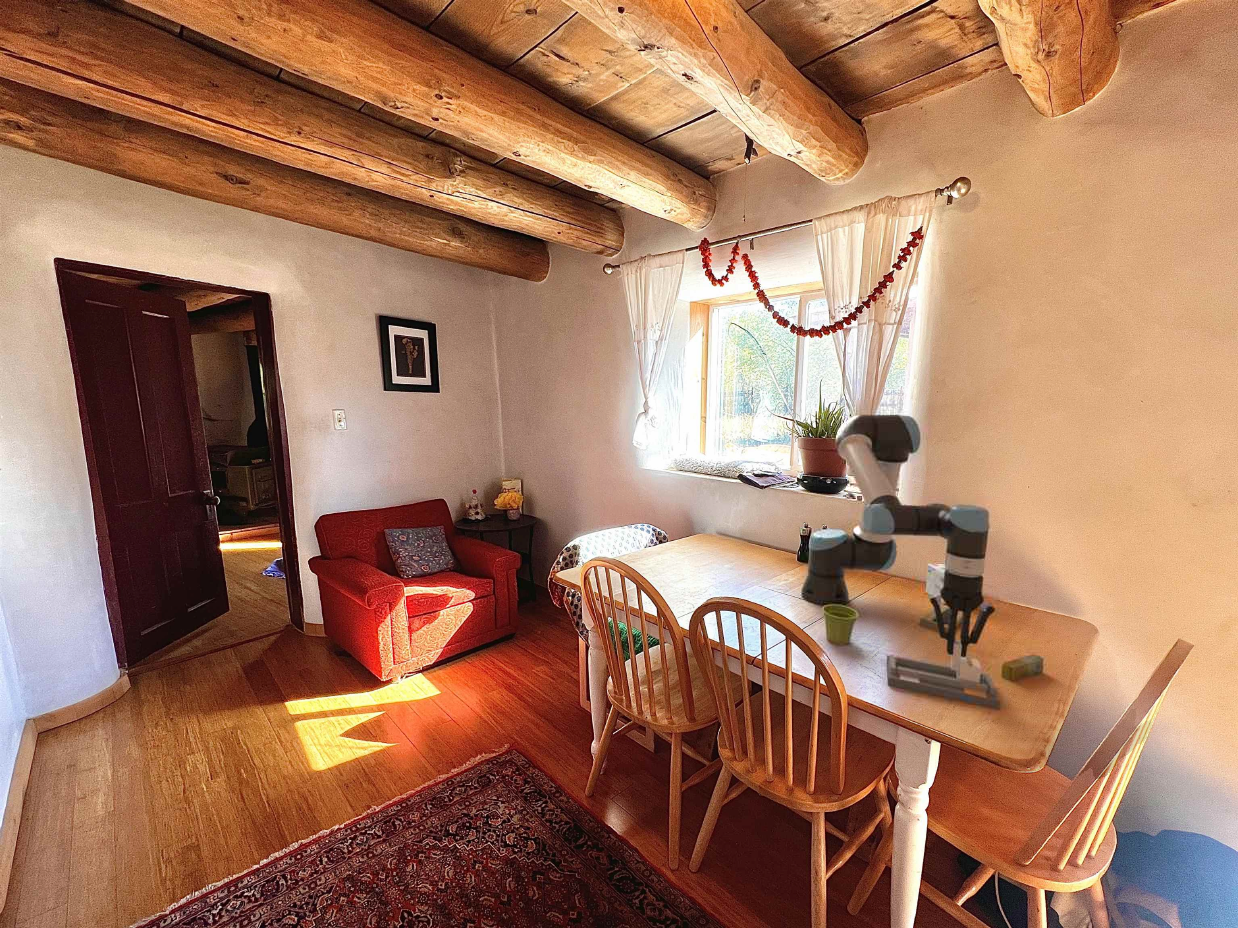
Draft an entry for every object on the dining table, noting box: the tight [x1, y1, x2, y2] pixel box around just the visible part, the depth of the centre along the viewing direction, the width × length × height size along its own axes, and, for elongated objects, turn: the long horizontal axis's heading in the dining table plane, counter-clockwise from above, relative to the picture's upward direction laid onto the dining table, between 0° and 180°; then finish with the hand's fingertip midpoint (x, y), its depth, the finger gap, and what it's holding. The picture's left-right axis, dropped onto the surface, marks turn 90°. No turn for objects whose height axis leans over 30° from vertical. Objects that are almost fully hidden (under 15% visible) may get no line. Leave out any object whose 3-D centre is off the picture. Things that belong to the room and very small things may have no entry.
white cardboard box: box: [956, 656, 982, 683], centre depth 121 cm, size 4×4×5 cm
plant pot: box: [822, 605, 859, 646], centre depth 146 cm, size 9×9×9 cm
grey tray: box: [885, 654, 1001, 711], centre depth 124 cm, size 22×12×4 cm, turn 64°
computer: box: [918, 604, 962, 633], centre depth 158 cm, size 16×8×3 cm, turn 131°
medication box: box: [1001, 654, 1044, 683], centre depth 128 cm, size 12×3×4 cm, turn 111°
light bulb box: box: [925, 563, 947, 605], centre depth 177 cm, size 11×7×11 cm, turn 179°
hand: (954, 667), depth 122 cm, fingers closed
